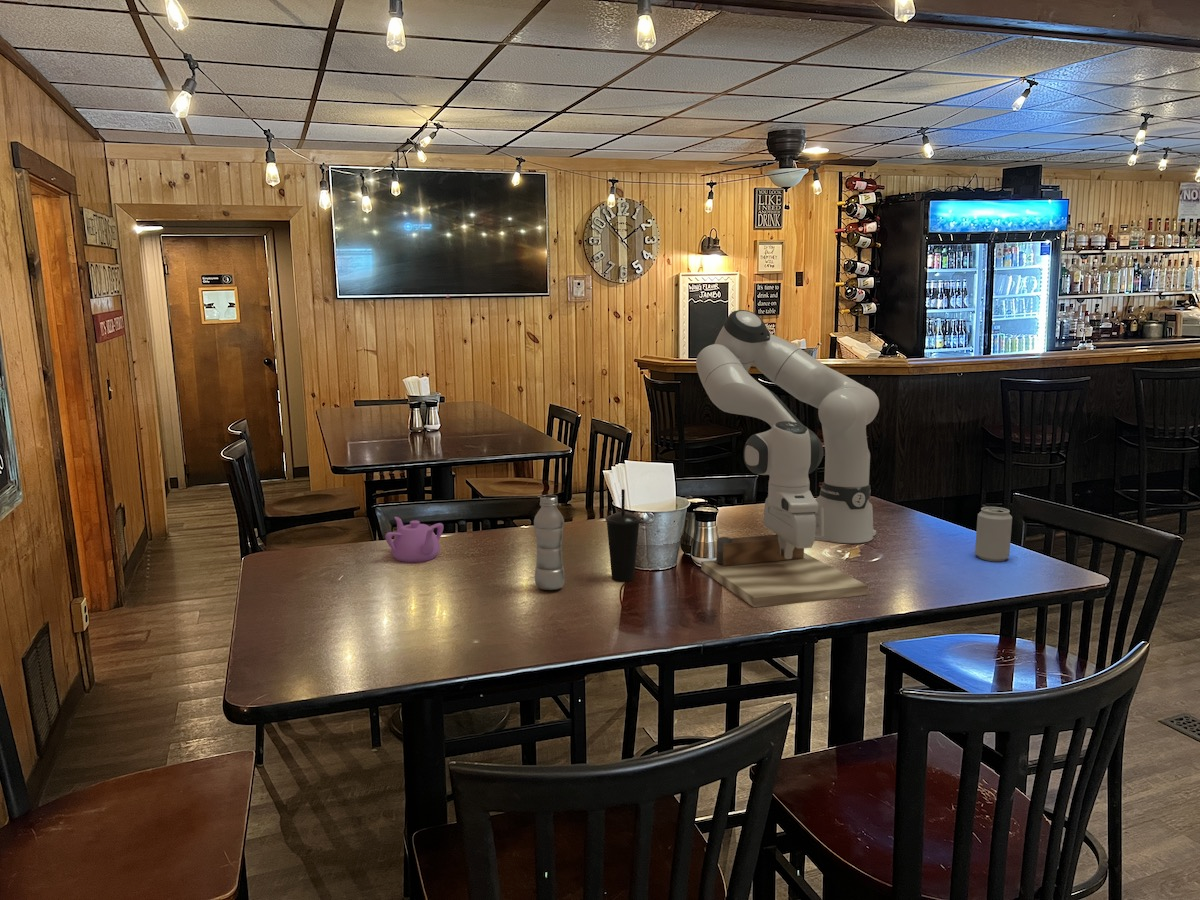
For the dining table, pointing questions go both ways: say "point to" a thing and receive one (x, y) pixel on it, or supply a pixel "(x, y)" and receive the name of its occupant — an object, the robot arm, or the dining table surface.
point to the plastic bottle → (549, 544)
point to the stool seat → (784, 581)
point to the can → (993, 534)
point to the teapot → (414, 541)
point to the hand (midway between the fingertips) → (786, 557)
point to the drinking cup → (622, 543)
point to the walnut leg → (751, 550)
